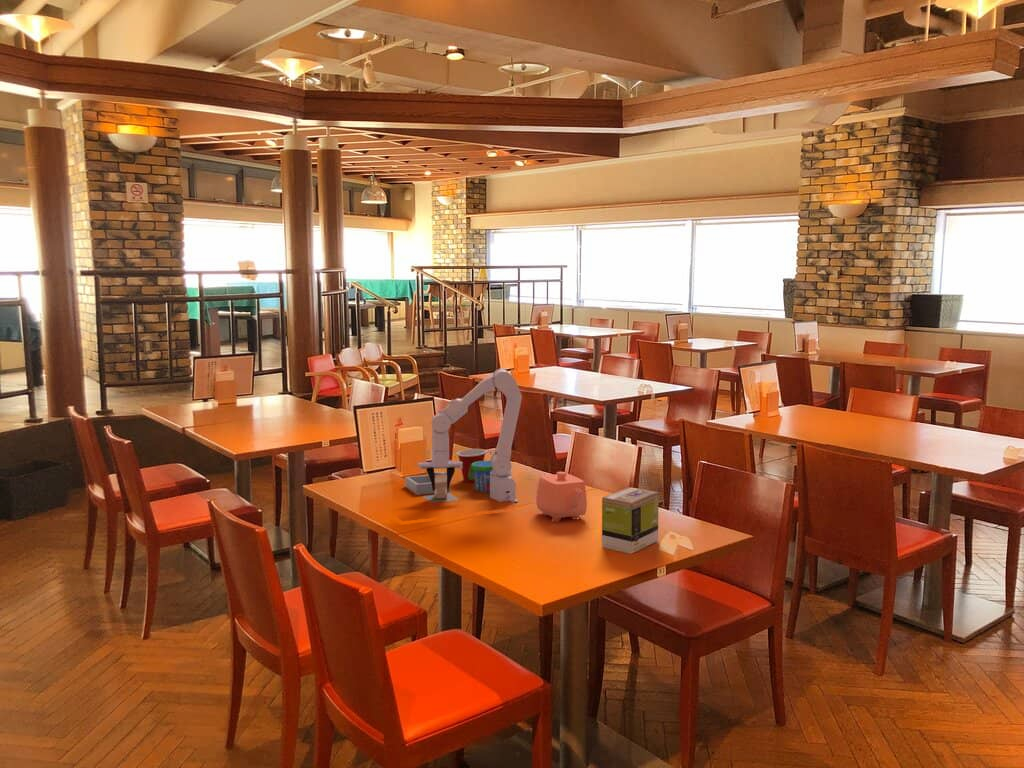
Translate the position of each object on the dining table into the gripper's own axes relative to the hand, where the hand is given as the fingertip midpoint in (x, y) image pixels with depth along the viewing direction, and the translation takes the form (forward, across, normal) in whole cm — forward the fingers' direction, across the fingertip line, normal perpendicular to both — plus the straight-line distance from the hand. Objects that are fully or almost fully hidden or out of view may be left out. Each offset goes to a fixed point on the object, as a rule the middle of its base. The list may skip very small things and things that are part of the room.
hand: (440, 489), depth 275 cm
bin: (+4, +4, -12) cm, 14 cm away
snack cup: (+4, -17, -10) cm, 20 cm away
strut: (+2, 0, 0) cm, 2 cm away
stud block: (+4, 0, 0) cm, 4 cm away
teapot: (+4, -37, +23) cm, 43 cm away
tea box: (+4, -50, +52) cm, 73 cm away
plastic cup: (+4, -13, -23) cm, 26 cm away
